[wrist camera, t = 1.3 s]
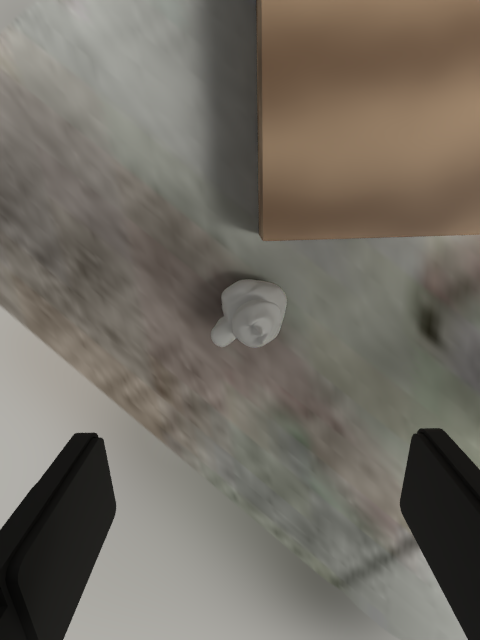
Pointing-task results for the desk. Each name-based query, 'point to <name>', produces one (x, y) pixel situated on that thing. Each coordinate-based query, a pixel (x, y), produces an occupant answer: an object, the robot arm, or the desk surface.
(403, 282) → the desk surface
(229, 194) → the desk surface
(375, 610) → the desk surface
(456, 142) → the walnut block
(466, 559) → the robot arm
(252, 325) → the grey lumpy piece
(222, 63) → the desk surface
